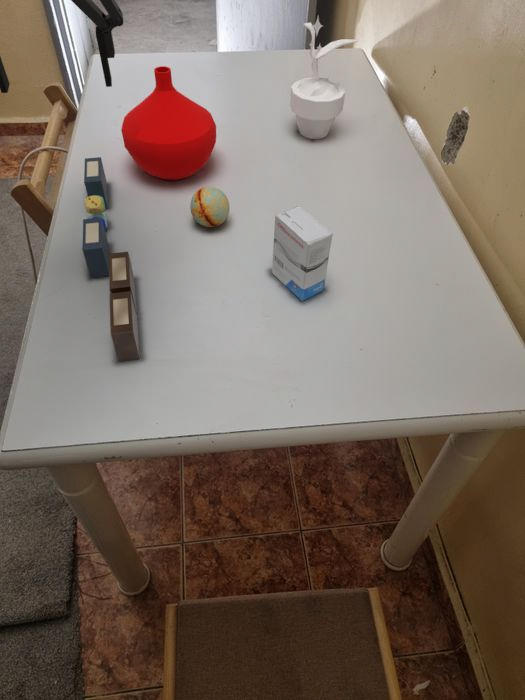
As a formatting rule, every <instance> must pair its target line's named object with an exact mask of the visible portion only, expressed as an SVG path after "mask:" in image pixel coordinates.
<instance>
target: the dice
mask: <svg viewBox="0 0 525 700" xmlns="http://www.w3.org/2000/svg"><path fill="white" fill-rule="evenodd" d="M84 205H85V210H86V213H87V214H90V217H89V219H91V218H102V221H103V225H104V229H105V233H106V232H107V229H108V219H107V215H105V214H104V212H105V211H106V209H105V204H104V200H103V197H101V196H98V195H94V196H89V197H88V196H87V197H85V199H84Z"/></svg>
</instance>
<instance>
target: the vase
mask: <svg viewBox="0 0 525 700" xmlns="http://www.w3.org/2000/svg"><path fill="white" fill-rule="evenodd" d="M153 71H154V73H153V74H154V80H155V88H154V89H153V90H152V92H151V93H150V94H149V95H148V96H147V97H145V98H144V99H143V100H142V101H141V102H140V103H138V104H137V105H136V106H135V107H134V108H132V109H131V110H129V111H128V112H127V114H126V115H125V116H124V118H123V120H122V125H121V136H122V141H123V144H124V145H123V146H124V148H125V150H126V151H127V153H128V154H129V155H130V157H131V158H132V160H133V161H134V162H135V164H136V165H137V166H138V167H139V168H141V169H142V171H144V172H146V173H148V174H149V175H150V176H153V177H155V178H158V179H161V180H167V181H177V180H178V181H179V180H183V179H186V178H188V177H189V178H190V177H191V176H193V175H194V174H197V172H199V171H200V170H201V169H202V168H204V166H205V165H206V163H207V162H208V161H209V160H210V158H211V156H212V153H213V151H214V148H215V146H216V144H217V143H216V142H217V125H216V122H215V120H214V117H213V115H212V113H211V112H210V111H209V110H208V109H207V108H205V107H204V106H202V105H200V104H198V103H197V102H195V101H193V100H192V99H190V98H189V97H187V96H186V95H184V94H183V93H181V92H179V91H178V90H177V88H175V87H174V85H173V77H172V70H171V67H169V66H166V65H164V66H163V65H160V66H157V67H155V68H153Z"/></svg>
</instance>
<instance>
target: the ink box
mask: <svg viewBox="0 0 525 700" xmlns="http://www.w3.org/2000/svg"><path fill="white" fill-rule="evenodd" d="M273 230H274V232H273V247H272V248H273V249H272V264H271V273H272V274H273V275H274V276H275V277H276V278H277V279H278V280H279V281H280V282H281V283H282V284H283V285H284V286H285V287H286V288H287V289H288V290H289V291H290V292H291V293H292V294H293V295H294V296H296V297H297V298H298V299H299V300H300V301H301V302H304V301H306V300H308V299H311V298H312V297H314V296H316V295H317V294H319V293H321V292H323V291H324V289H325V284H326V283H325V282H326V278H327V277H326V276H327V270H328V264H329V258H330V252H331V246H332V240H333V235H334V234H333V233H332V232H331V231H330V230H329V229H327V228H326V227H325V226H324V225H323V224H321V222H319V220H318V219H316V218H315V217H314V216H312V215H311V214H310V213H308V212H307V211H306V210H305V209H304V208H303V207H302V206H301V205H298V206H295V207H292V208H289V209H287V210H284V211H281V212H279V213H275V214H274V229H273Z"/></svg>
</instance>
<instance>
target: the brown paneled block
mask: <svg viewBox="0 0 525 700" xmlns="http://www.w3.org/2000/svg"><path fill="white" fill-rule="evenodd" d="M108 279H109V280H108V281H109V283H108V284H109V285H108V286H109V292H110V293H109V322H110V323H109V325H110V327H109V328H110V337H111V341H112V343H113V348H114V349H115V353H116V357H117V360H118V362H119V363H120V362H126V361H127V362H128V361H134V360H140V359H141V356H140V340H139V325H138V324H139V323H138V317H137V316H138V311H137V309H138V308H137V295H136V282H135V275H134V271H133V265H132V261H131V258H130V253H129V251H120V252H111V253H110V252H109V276H108Z"/></svg>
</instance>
